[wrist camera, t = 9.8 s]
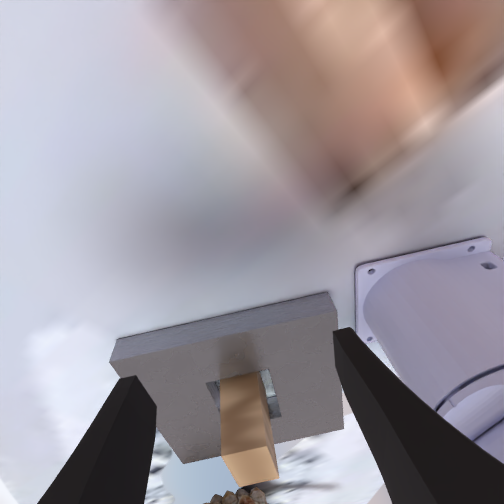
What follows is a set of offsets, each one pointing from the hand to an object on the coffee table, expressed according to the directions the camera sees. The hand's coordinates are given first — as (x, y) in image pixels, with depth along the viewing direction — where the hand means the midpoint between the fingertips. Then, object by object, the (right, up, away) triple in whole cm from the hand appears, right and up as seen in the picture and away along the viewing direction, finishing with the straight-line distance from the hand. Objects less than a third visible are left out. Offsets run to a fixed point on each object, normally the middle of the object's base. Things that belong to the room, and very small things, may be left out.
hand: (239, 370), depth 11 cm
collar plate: (0, -7, +15) cm, 17 cm away
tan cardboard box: (0, -7, +15) cm, 17 cm away
